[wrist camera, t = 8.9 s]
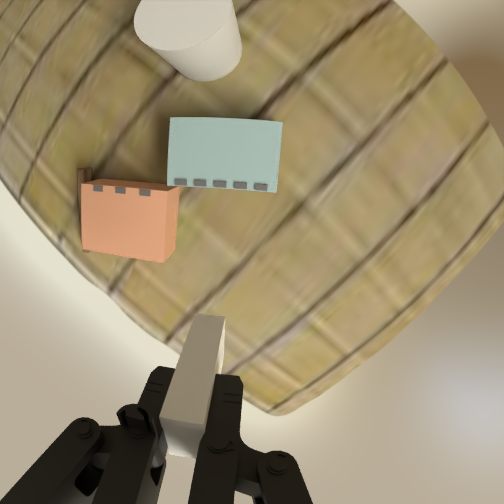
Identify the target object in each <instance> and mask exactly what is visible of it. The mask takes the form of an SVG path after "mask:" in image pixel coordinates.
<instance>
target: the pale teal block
mask: <svg viewBox="0 0 504 504" xmlns="http://www.w3.org/2000/svg"><path fill="white" fill-rule="evenodd" d="M282 124H283V122H277V121H266V120H253V119H237V118H211V117H170V130H169V146H168V168H167V186H190V187H209V188H225V189H239V190H252V191H264V192H275V193H276V191H277V180H278V169H279V158H280V147H281V136H282Z"/></svg>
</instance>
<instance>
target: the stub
mask: <svg viewBox="0 0 504 504" xmlns="http://www.w3.org/2000/svg"><path fill="white" fill-rule="evenodd" d="M179 191H180V186H167V184H160V183H149V182H138V181H127V180H114V179H98V180H94V181H90V182H86V183H82V184H81V224H82V246H83V249H86V250H91V251H97V252H102V253H108V254H113V255H119V256H125V257H131V258H136V259H142V260H148V261H154V262H160V263H164V262H165V261H166V260H167V258H168V257H169V256H170V255H171V254H172V252H173V251H174V250H175V245H176V229H177V215H178V203H179Z"/></svg>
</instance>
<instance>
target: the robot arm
mask: <svg viewBox="0 0 504 504" xmlns="http://www.w3.org/2000/svg"><path fill="white" fill-rule="evenodd" d="M224 335H225V317H222V316H212V315H203V314H195V316H194V319H193V322H192V324H191V327H190V330H189V333H188V335H187V338H186V341H185V344H184V346H183V349H182V352H181V355H180V358H179V360H178V363H177V366H176V369H174V368H168V367H162V366H158V367H157V368H156V369H155V370H153V371H152V372H151V374H150V376H149V378H148V381H147V383H146V386H145V388H144V390H143V393H142V395H141V397H140V400H139V402H138V404H129V405H125V406H123V407H122V408H121V409H119V411H118V412H117V413H116V414H117V416H118V419H119V421H120V424H121V425H117V426H99V424H98V423H97V422H96V421H95V420H93V419H90V418H84V417H82V418H78V419H76V420H74V421H73V422H72V423H71V424H70V425H69V426H68V427H67V428H66V429H65V430H64V431H63V432H62V434H60V436H59V437H58V438H57V439H56V440H55V441H54V442H53V443H52V444H51V446H49V448H48V449H47V450H46V451H45V452H44V453H43V454H42V455H41V456H40V457H39V458H38V460H37V461H36V462H35V463H34V464H33V465H32V466H31V467H30V468H29V470H28V471H27V472H26V473H25V474H24V475H23V476H22V477H21V478H20V479H19V481H18V482H17V483H16V484H15V485H14V486H13V487H12V488H11V489H10V491H9V492H8V493H7V494H6V495H5V496H4V497H3V498H2V500H1V501H0V504H157V501H158V496H159V492H160V488H161V484H162V480H163V476H164V472H165V468H166V459H165V456H166V452H167V449H168V452H169V454H172V455H178V456H184V457H189V458H195V459H196V463H195V468H194V474H193V479H192V484H191V489H190V495H189V500H188V504H234V493H235V491H238V492H241V493H244V494H247V495H249V496H252V499H253V503H254V504H313V503H312V501H311V497H310V495H309V492H308V490H307V487H306V485H305V482H304V479H303V477H302V474H301V472H300V469H299V467H298V464H297V462H296V460H295V459H294V457H293V456H291V455H290V454H289V453H286V452H283V451H271V452H268V453H263V452H260V451H257V450H254V449H252V448H250V447H248V446H247V445H246V444H244V442H243V441H242V439H241V437H240V421H241V409H242V396H243V383H242V381H241V379H240V377H239V376H234V375H224V374H221V370H222V364H223V359H224Z"/></svg>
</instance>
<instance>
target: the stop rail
mask: <svg viewBox="0 0 504 504" xmlns="http://www.w3.org/2000/svg"><path fill="white" fill-rule="evenodd" d="M90 181H92V168H84V169H79V170H78V202H79V218H80V230H81V241H82V224H81V184H82V183H86V182H90ZM82 250H83V252H86V253H89V252H90V251H91V250H86V249H83V246H82Z"/></svg>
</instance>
